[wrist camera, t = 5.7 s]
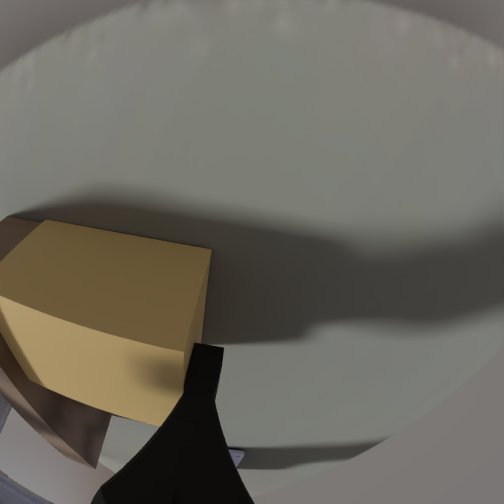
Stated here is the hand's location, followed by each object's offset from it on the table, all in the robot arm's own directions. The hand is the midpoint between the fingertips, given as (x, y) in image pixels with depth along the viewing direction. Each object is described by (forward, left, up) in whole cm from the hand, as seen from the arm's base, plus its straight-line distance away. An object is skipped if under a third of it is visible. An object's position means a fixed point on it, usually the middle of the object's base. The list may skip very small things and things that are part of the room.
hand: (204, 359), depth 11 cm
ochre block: (0, +4, -3) cm, 5 cm away
